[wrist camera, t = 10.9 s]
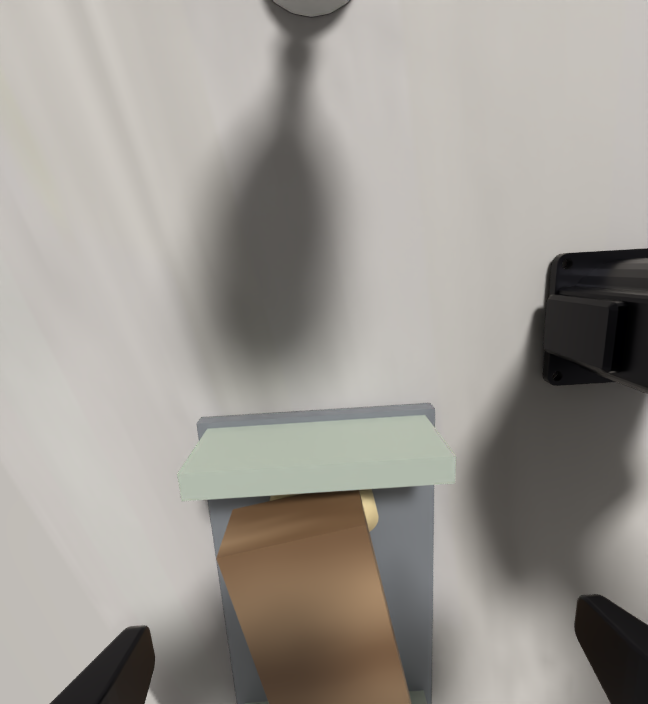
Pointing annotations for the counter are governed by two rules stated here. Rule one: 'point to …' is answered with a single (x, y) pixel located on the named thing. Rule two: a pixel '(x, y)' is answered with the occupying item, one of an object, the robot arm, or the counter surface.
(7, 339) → the counter surface
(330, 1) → the chalice
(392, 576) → the peg cradle
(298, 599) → the shelf board
